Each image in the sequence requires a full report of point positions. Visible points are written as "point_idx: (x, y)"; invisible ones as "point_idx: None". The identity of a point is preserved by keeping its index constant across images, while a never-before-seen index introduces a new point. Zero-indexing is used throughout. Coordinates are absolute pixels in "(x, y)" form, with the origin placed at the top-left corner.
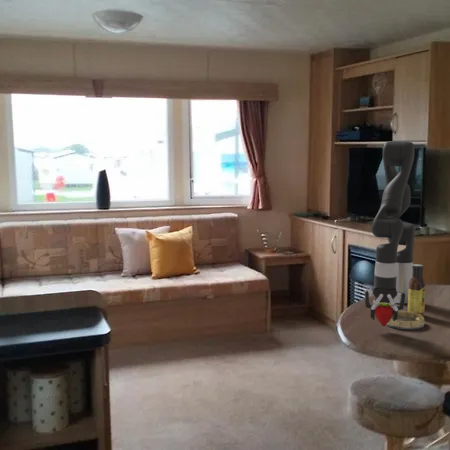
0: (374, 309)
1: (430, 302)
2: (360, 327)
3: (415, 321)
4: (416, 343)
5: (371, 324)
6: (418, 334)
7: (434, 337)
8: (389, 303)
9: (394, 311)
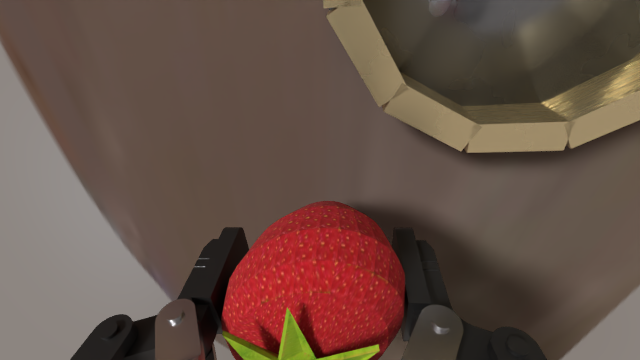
0: (217, 320)
1: None
2: (173, 141)
3: (634, 109)
4: (472, 307)
5: (230, 47)
6: (546, 196)
7: (629, 227)
8: (369, 357)
9: (408, 338)
